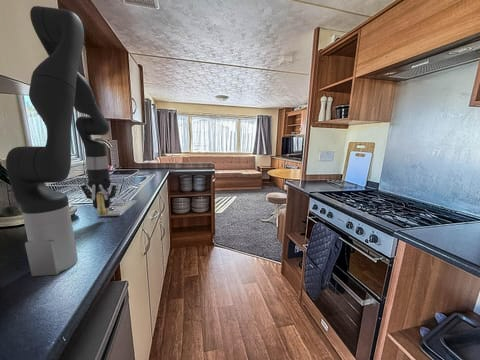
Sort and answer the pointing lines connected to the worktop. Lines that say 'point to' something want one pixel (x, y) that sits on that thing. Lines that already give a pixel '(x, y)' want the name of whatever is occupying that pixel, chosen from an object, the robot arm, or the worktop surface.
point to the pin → (101, 204)
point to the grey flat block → (119, 207)
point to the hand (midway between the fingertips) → (102, 207)
